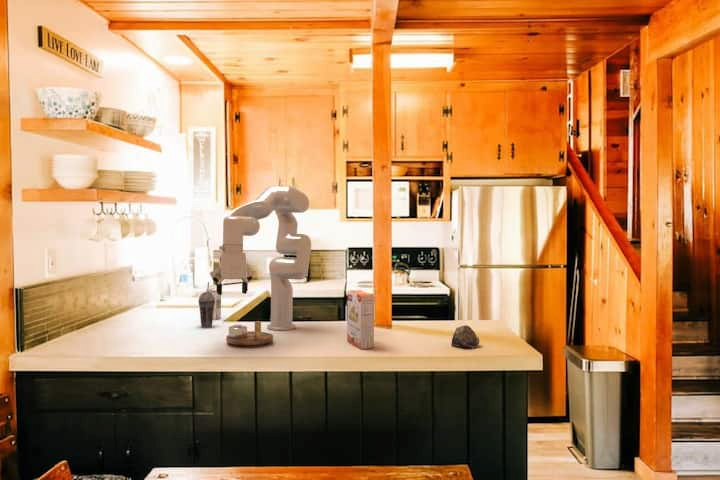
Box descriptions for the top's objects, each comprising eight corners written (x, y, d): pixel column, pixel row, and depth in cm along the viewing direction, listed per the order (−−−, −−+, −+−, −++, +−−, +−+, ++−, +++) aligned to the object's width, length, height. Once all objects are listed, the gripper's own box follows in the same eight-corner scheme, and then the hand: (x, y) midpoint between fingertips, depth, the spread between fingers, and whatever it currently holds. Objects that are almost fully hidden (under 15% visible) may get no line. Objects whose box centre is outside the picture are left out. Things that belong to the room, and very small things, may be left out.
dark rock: (473, 349, 222) (462, 325, 224) (453, 357, 227) (442, 333, 229) (483, 343, 232) (472, 320, 233) (464, 351, 236) (453, 328, 238)
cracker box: (345, 341, 234) (346, 290, 233) (359, 340, 236) (360, 289, 235) (359, 349, 221) (360, 295, 220) (374, 348, 224) (375, 294, 223)
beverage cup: (194, 327, 257) (194, 282, 256) (204, 324, 264) (205, 280, 263) (208, 329, 254) (208, 283, 253) (218, 326, 261) (218, 281, 260)
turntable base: (231, 341, 230) (231, 339, 230) (257, 338, 236) (257, 336, 236) (242, 347, 221) (242, 345, 221) (268, 344, 227) (268, 341, 227)
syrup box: (209, 317, 281) (209, 287, 281) (221, 318, 280) (221, 288, 280) (204, 319, 276) (204, 289, 275) (216, 320, 275) (216, 289, 274)
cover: (225, 336, 227) (226, 324, 227) (242, 334, 231) (242, 322, 231) (232, 340, 221) (232, 327, 221) (249, 338, 225) (249, 325, 225)
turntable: (219, 337, 231) (219, 316, 231) (261, 333, 241) (261, 313, 241) (236, 347, 216) (237, 324, 216) (280, 341, 226) (280, 320, 226)
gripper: (213, 249, 214) (212, 296, 214) (258, 249, 223) (257, 294, 223) (207, 248, 220) (206, 293, 221) (251, 248, 229) (250, 291, 230)
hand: (232, 293), depth 222 cm, fingers open, 9 cm apart
